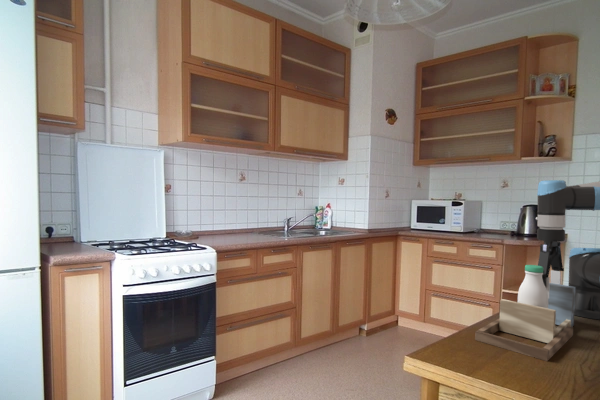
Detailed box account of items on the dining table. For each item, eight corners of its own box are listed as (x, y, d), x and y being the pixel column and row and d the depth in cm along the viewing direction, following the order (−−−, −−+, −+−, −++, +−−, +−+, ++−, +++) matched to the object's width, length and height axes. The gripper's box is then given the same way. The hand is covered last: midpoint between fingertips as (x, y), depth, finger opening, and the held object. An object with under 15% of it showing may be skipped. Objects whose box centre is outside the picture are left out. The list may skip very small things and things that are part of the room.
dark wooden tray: (508, 320, 123) (509, 312, 123) (572, 335, 111) (573, 327, 111) (475, 339, 105) (475, 331, 105) (547, 361, 93) (547, 351, 93)
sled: (525, 314, 129) (526, 279, 129) (573, 325, 119) (575, 287, 119) (499, 330, 113) (500, 290, 112) (552, 344, 103) (554, 300, 102)
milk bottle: (551, 340, 107) (554, 269, 106) (521, 336, 108) (523, 267, 108) (541, 330, 114) (543, 264, 114) (512, 327, 116) (515, 262, 116)
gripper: (548, 225, 134) (547, 285, 134) (525, 229, 117) (524, 298, 117) (574, 226, 128) (572, 289, 129) (554, 231, 111) (553, 303, 111)
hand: (549, 293), depth 123 cm, fingers open, 13 cm apart
